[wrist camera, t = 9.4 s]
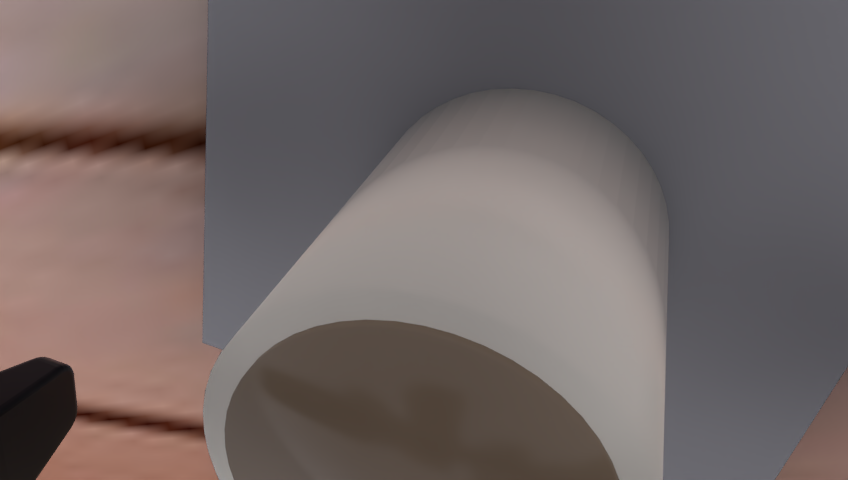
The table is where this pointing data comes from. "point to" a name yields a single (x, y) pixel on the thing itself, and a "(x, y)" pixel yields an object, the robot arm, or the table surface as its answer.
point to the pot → (465, 313)
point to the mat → (618, 103)
